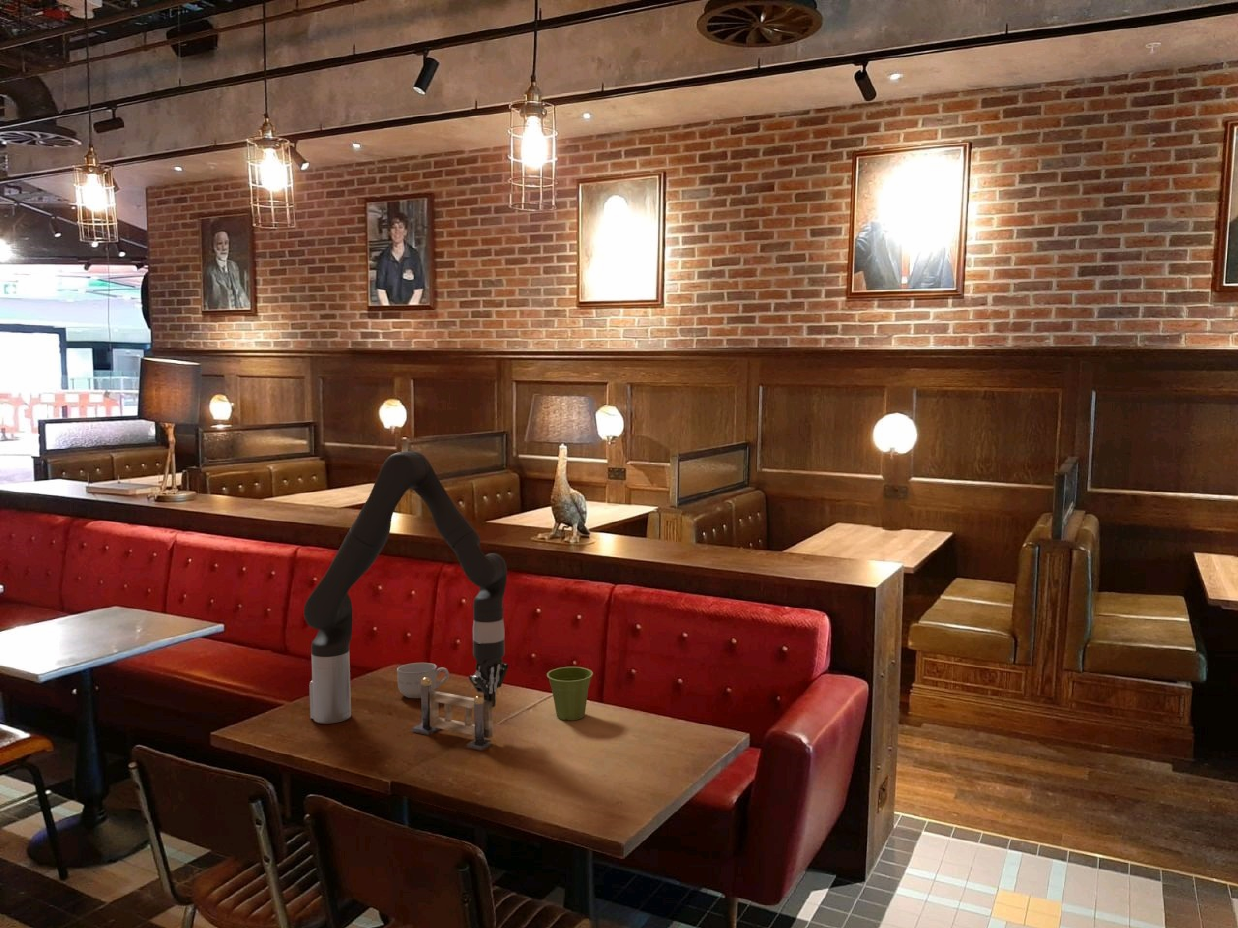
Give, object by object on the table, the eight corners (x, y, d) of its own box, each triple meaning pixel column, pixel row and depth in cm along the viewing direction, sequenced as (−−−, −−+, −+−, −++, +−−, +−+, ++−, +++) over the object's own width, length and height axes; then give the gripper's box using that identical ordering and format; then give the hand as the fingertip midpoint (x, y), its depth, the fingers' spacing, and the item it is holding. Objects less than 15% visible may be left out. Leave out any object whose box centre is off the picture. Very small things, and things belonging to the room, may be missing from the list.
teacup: (391, 700, 249) (390, 671, 248) (406, 687, 259) (406, 659, 259) (440, 703, 246) (439, 674, 246) (454, 690, 257) (453, 662, 256)
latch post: (467, 747, 216) (466, 696, 215) (477, 741, 220) (476, 691, 219) (481, 750, 215) (480, 699, 214) (491, 744, 218) (490, 694, 217)
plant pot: (566, 704, 245) (566, 663, 244) (602, 714, 238) (602, 671, 237) (537, 718, 236) (537, 675, 235) (573, 728, 229) (573, 683, 228)
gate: (430, 726, 226) (429, 692, 225) (433, 724, 227) (433, 690, 226) (489, 738, 218) (488, 703, 217) (492, 736, 219) (492, 701, 219)
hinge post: (412, 731, 226) (411, 678, 225) (425, 724, 231) (424, 673, 230) (428, 735, 224) (427, 681, 223) (441, 728, 228) (440, 675, 227)
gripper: (492, 628, 229) (493, 696, 231) (458, 641, 218) (460, 713, 219) (517, 632, 226) (518, 701, 227) (484, 646, 214) (485, 718, 216)
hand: (489, 707), depth 223 cm, fingers closed
